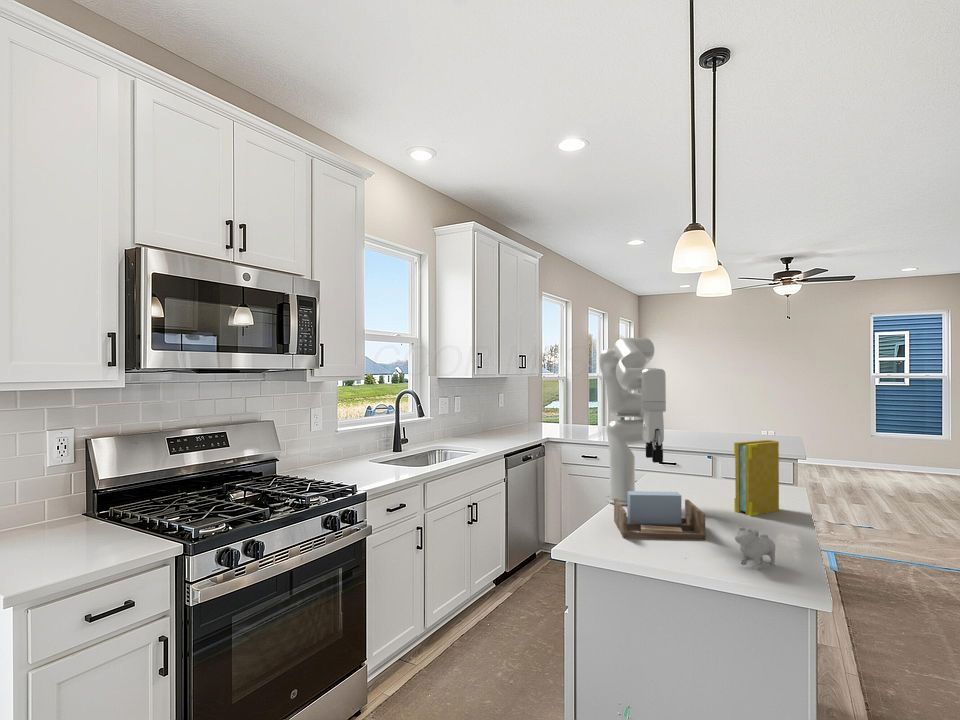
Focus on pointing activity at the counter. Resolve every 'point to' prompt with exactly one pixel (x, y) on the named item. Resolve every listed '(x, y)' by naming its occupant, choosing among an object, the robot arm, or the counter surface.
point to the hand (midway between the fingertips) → (654, 459)
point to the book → (756, 477)
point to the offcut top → (660, 529)
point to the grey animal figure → (755, 546)
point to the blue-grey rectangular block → (653, 507)
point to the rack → (692, 519)
